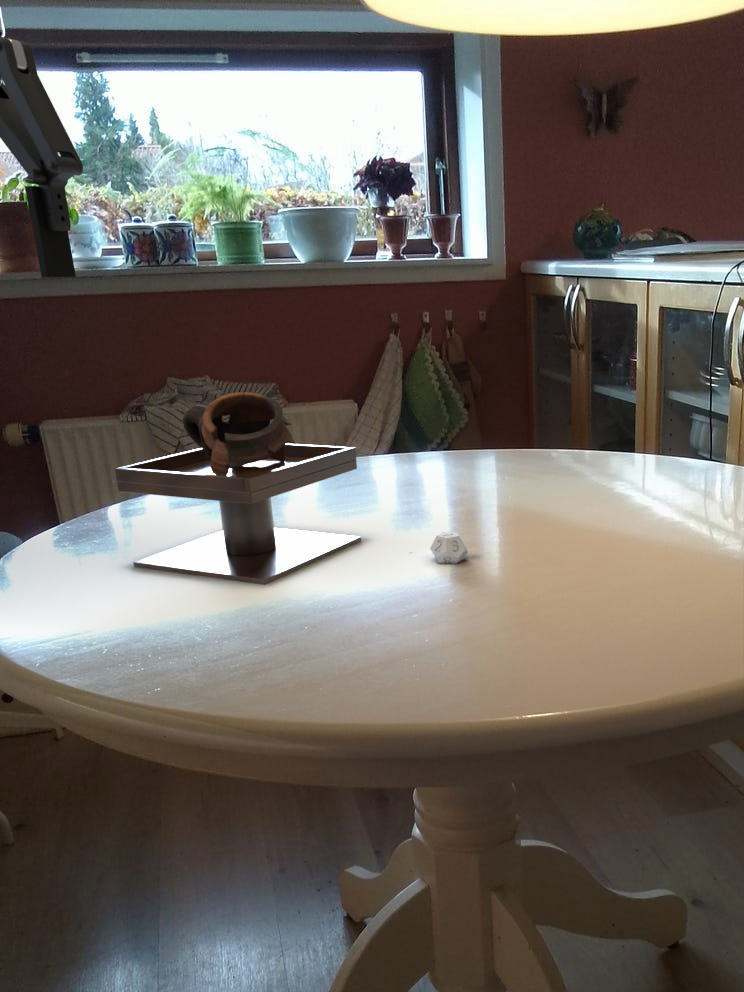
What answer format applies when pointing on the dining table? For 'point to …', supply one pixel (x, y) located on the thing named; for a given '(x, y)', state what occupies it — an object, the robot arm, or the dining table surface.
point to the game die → (448, 548)
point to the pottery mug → (239, 430)
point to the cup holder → (242, 512)
